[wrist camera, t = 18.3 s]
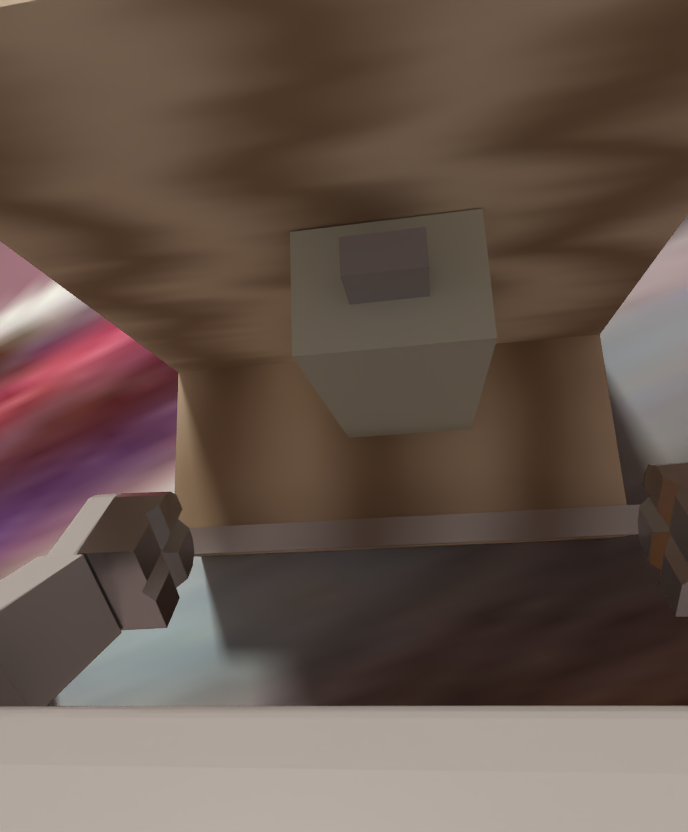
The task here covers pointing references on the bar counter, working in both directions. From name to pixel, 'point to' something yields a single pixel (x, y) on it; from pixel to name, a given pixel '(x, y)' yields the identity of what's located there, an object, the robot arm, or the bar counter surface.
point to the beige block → (395, 321)
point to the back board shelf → (345, 205)
